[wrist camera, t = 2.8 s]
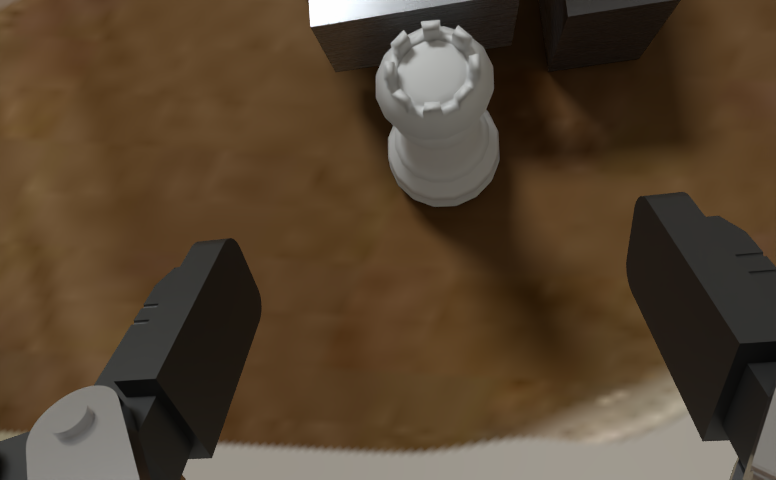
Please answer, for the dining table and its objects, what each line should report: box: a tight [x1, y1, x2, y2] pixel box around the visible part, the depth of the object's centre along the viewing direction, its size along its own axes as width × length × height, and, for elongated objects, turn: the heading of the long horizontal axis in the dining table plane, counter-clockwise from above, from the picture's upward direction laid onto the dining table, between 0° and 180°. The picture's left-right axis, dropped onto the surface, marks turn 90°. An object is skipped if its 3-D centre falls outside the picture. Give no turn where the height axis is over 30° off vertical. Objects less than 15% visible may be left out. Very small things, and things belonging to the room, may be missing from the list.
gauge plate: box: [309, 0, 520, 72], centre depth 18 cm, size 11×1×4 cm, turn 95°
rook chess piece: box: [376, 20, 500, 207], centre depth 17 cm, size 4×4×8 cm
